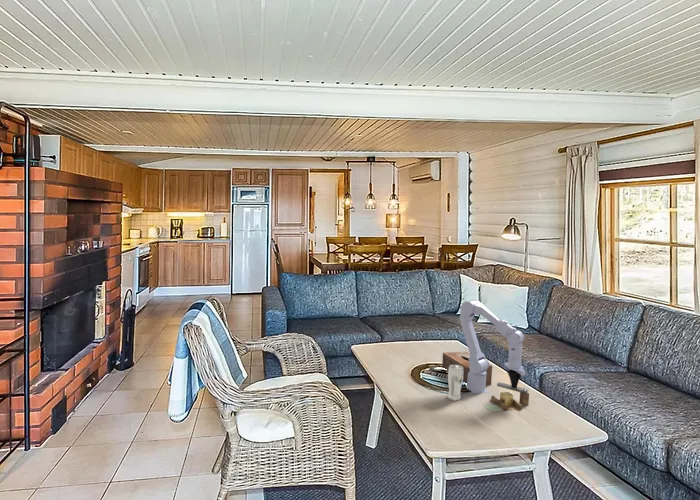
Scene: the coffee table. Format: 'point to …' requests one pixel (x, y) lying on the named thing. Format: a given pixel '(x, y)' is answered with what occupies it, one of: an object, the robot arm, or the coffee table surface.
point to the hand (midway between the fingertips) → (514, 386)
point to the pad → (493, 408)
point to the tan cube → (506, 398)
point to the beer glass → (455, 382)
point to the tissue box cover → (463, 364)
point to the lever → (512, 387)
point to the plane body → (516, 406)
